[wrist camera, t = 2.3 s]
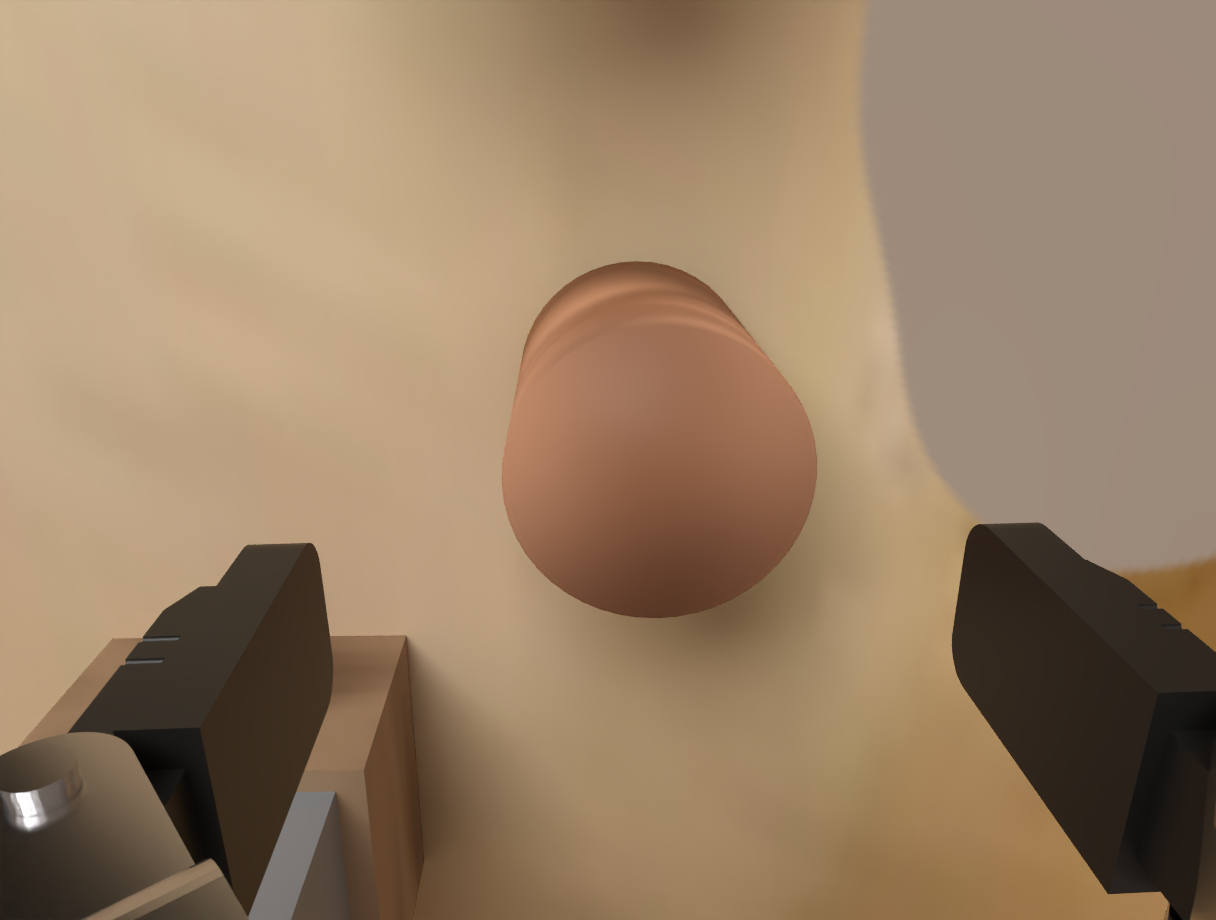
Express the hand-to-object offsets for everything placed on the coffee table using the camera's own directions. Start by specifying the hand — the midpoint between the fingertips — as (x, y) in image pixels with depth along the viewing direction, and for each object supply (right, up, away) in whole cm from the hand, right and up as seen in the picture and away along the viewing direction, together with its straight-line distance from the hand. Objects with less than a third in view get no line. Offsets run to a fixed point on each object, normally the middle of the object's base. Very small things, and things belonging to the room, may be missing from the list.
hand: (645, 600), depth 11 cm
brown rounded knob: (0, +4, +9) cm, 9 cm away
